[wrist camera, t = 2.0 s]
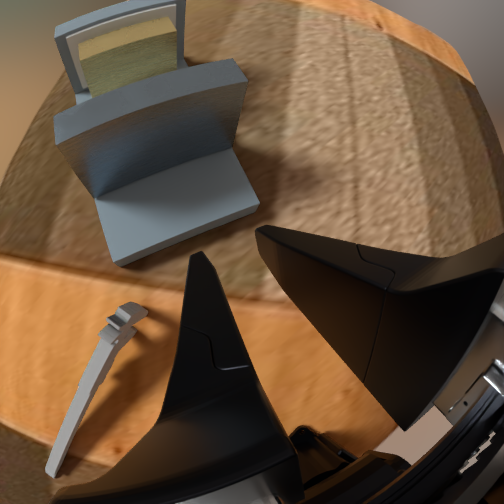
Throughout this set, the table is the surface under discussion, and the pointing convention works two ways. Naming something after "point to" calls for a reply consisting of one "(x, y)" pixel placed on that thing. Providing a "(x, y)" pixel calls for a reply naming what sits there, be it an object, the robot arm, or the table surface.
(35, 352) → the table surface
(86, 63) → the pale yellow wooden block
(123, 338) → the caliper
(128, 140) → the sliding jaw
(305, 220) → the table surface
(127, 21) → the vise
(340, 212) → the table surface
